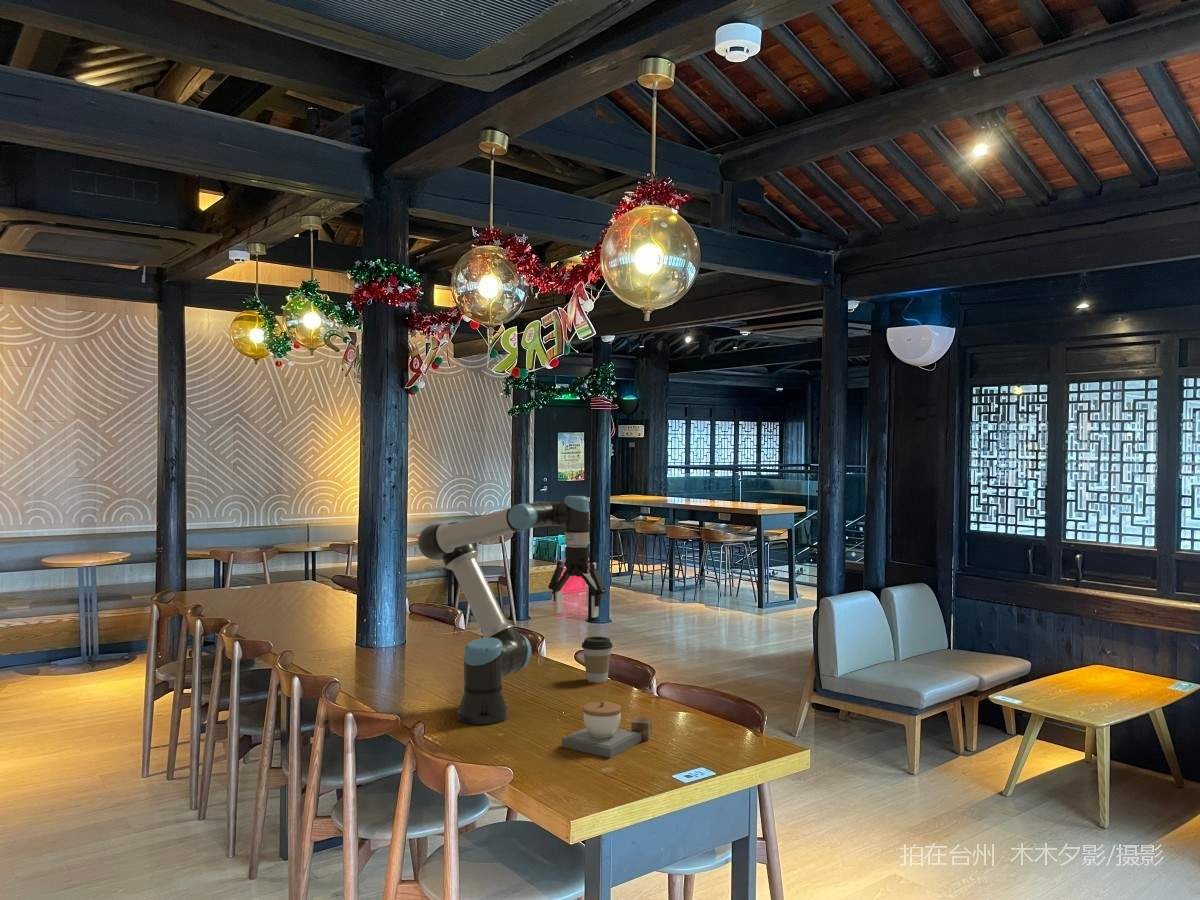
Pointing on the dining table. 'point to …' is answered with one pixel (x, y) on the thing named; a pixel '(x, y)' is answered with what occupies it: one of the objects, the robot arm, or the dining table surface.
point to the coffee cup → (597, 658)
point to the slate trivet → (601, 742)
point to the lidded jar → (602, 718)
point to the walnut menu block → (642, 727)
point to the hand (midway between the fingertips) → (576, 614)
